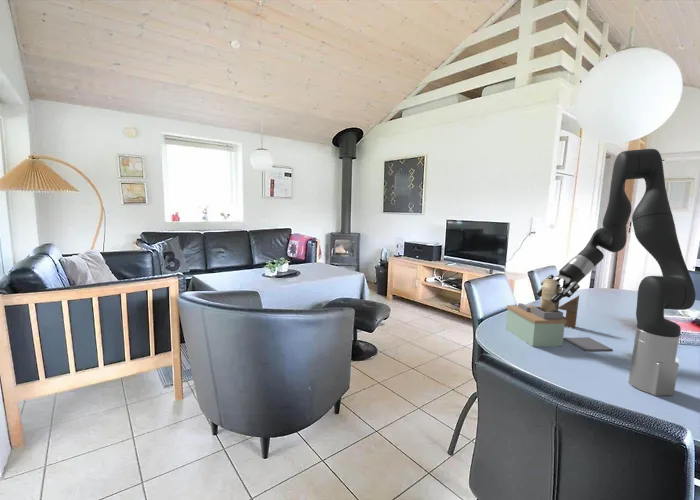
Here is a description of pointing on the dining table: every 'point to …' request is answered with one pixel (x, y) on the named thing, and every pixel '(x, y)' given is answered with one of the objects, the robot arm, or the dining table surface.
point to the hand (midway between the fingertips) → (545, 298)
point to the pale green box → (536, 325)
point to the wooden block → (569, 310)
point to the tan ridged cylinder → (548, 295)
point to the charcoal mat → (587, 344)
